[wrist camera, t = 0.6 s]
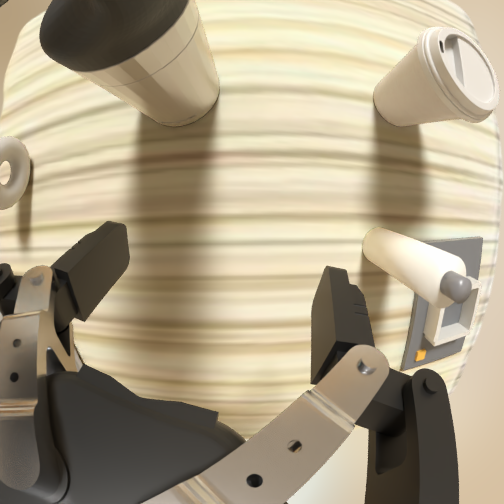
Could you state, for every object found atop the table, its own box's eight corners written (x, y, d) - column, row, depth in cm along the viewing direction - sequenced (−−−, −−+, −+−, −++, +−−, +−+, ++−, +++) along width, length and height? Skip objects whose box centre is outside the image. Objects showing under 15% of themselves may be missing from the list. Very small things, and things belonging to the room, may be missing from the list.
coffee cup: (378, 57, 25) (440, 4, 10) (432, 102, 26) (508, 77, 12) (349, 105, 27) (416, 57, 12) (409, 153, 28) (495, 143, 13)
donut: (25, 139, 27) (-22, 135, 17) (38, 137, 27) (-10, 131, 17) (19, 205, 29) (-27, 214, 19) (32, 206, 29) (-16, 215, 19)
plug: (362, 228, 30) (447, 265, 15) (393, 226, 30) (484, 259, 15) (361, 264, 31) (438, 323, 16) (392, 261, 31) (475, 312, 16)
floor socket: (419, 241, 31) (436, 248, 27) (478, 236, 30) (495, 241, 27) (400, 366, 35) (411, 381, 31) (457, 348, 35) (469, 359, 31)
